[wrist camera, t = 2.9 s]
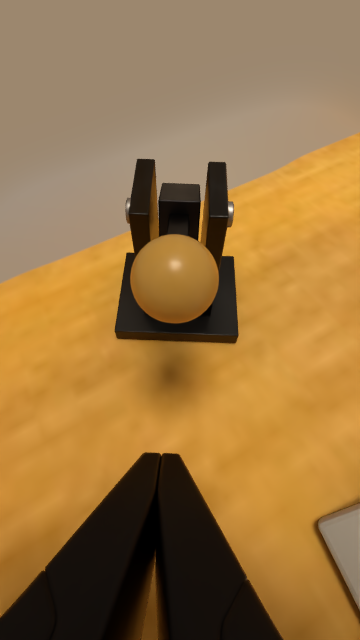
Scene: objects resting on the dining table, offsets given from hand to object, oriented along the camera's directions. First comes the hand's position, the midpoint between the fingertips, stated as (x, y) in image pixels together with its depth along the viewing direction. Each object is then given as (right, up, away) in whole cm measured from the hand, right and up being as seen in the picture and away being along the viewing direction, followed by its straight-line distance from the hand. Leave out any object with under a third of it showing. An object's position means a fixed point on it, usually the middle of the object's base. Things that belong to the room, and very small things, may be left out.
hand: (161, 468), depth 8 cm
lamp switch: (0, +6, +9) cm, 11 cm away
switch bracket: (0, +5, +19) cm, 20 cm away
